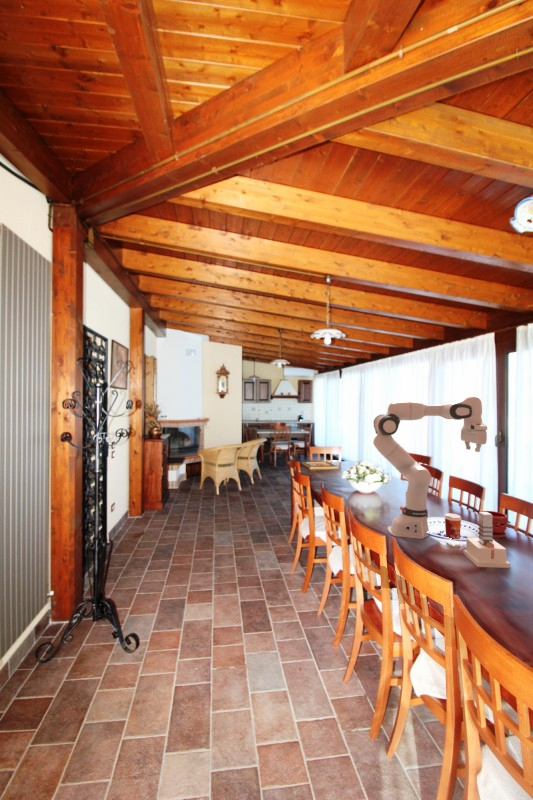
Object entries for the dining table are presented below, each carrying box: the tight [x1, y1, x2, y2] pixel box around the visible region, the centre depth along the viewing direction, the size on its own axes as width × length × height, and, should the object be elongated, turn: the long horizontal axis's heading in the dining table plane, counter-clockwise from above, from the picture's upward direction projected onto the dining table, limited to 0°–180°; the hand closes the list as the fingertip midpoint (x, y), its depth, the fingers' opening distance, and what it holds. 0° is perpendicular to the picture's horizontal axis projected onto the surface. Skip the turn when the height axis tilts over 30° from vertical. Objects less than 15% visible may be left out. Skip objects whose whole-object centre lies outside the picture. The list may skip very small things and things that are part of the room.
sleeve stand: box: [462, 537, 511, 569], centre depth 171 cm, size 14×14×10 cm
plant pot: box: [480, 510, 509, 539], centre depth 203 cm, size 13×13×12 cm
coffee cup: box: [443, 513, 462, 540], centre depth 191 cm, size 8×8×15 cm
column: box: [477, 511, 494, 546], centre depth 171 cm, size 4×4×22 cm
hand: (472, 450), depth 202 cm, fingers open, 8 cm apart
